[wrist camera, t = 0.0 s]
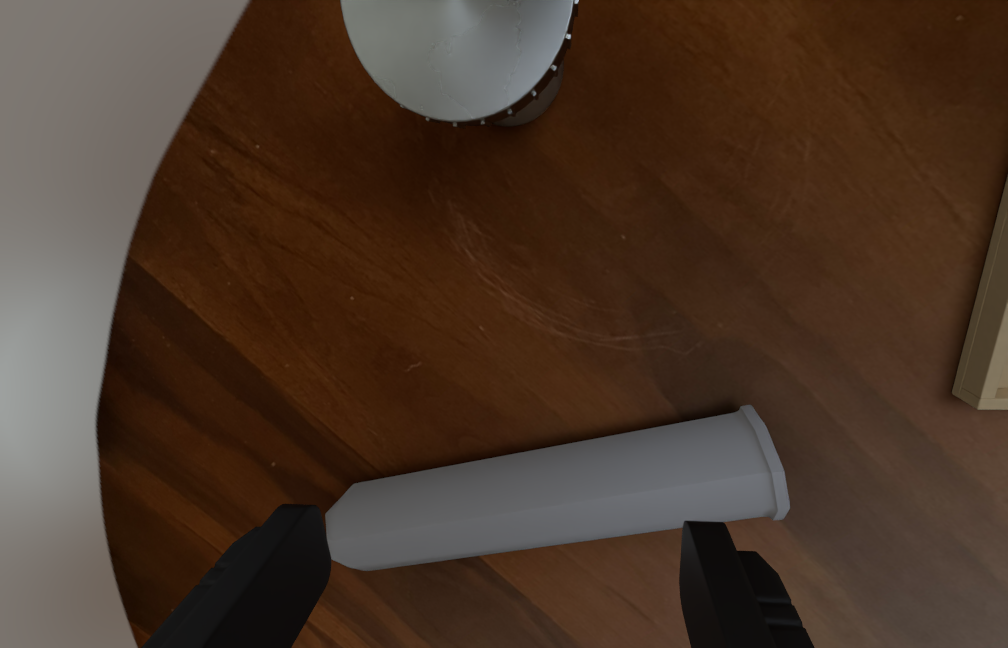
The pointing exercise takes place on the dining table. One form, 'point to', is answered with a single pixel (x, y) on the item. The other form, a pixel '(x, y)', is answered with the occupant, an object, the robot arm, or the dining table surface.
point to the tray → (988, 328)
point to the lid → (461, 53)
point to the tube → (564, 494)
